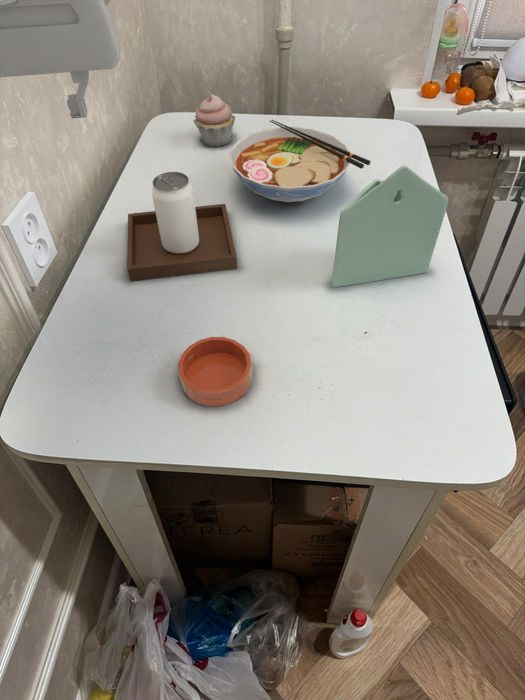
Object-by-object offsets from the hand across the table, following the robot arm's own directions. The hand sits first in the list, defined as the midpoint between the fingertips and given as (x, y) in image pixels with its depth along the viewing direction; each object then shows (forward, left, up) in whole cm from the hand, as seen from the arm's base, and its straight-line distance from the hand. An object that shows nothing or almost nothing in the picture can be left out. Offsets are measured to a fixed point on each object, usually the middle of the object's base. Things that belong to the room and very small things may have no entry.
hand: (32, 119), depth 51 cm
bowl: (+15, -12, -31) cm, 37 cm away
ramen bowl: (+34, +32, -31) cm, 56 cm away
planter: (+43, +7, -31) cm, 54 cm away
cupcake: (+22, +55, -31) cm, 67 cm away
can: (+12, +18, -31) cm, 38 cm away
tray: (+12, +18, -31) cm, 38 cm away
